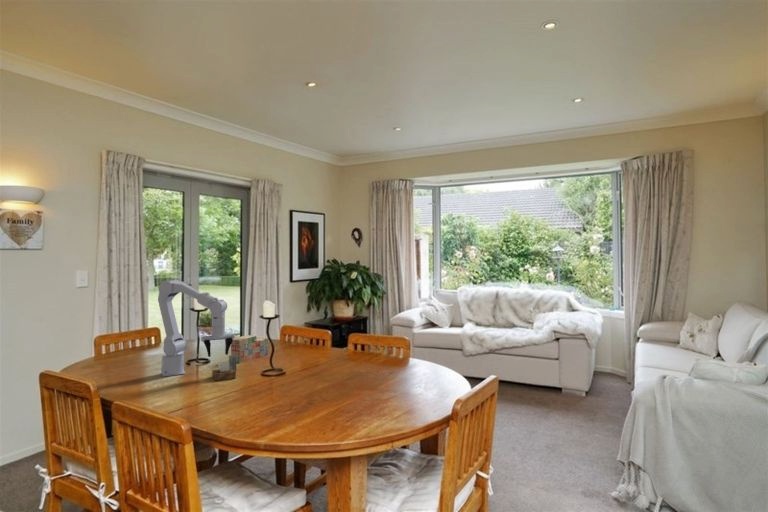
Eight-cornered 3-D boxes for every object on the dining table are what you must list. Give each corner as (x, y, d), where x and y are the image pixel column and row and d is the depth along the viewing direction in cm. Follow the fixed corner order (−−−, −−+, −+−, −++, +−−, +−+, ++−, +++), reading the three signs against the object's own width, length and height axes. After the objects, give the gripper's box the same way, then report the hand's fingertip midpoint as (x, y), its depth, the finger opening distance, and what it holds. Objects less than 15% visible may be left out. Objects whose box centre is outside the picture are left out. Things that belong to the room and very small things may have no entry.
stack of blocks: (259, 353, 245) (259, 332, 245) (267, 354, 243) (268, 333, 243) (230, 362, 226) (230, 338, 226) (239, 363, 224) (239, 339, 224)
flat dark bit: (232, 372, 205) (232, 358, 205) (229, 370, 210) (229, 355, 210) (236, 372, 206) (236, 357, 206) (233, 369, 211) (233, 355, 211)
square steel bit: (220, 379, 195) (220, 363, 195) (218, 377, 198) (218, 361, 198) (229, 378, 197) (229, 362, 197) (227, 375, 200) (227, 360, 200)
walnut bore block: (216, 381, 192) (216, 374, 192) (212, 376, 199) (212, 370, 199) (235, 378, 196) (235, 371, 196) (231, 373, 203) (231, 367, 203)
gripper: (203, 328, 194) (202, 359, 194) (236, 326, 201) (236, 355, 201) (200, 326, 200) (200, 355, 200) (232, 324, 207) (232, 352, 207)
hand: (217, 355), depth 201 cm, fingers open, 7 cm apart
